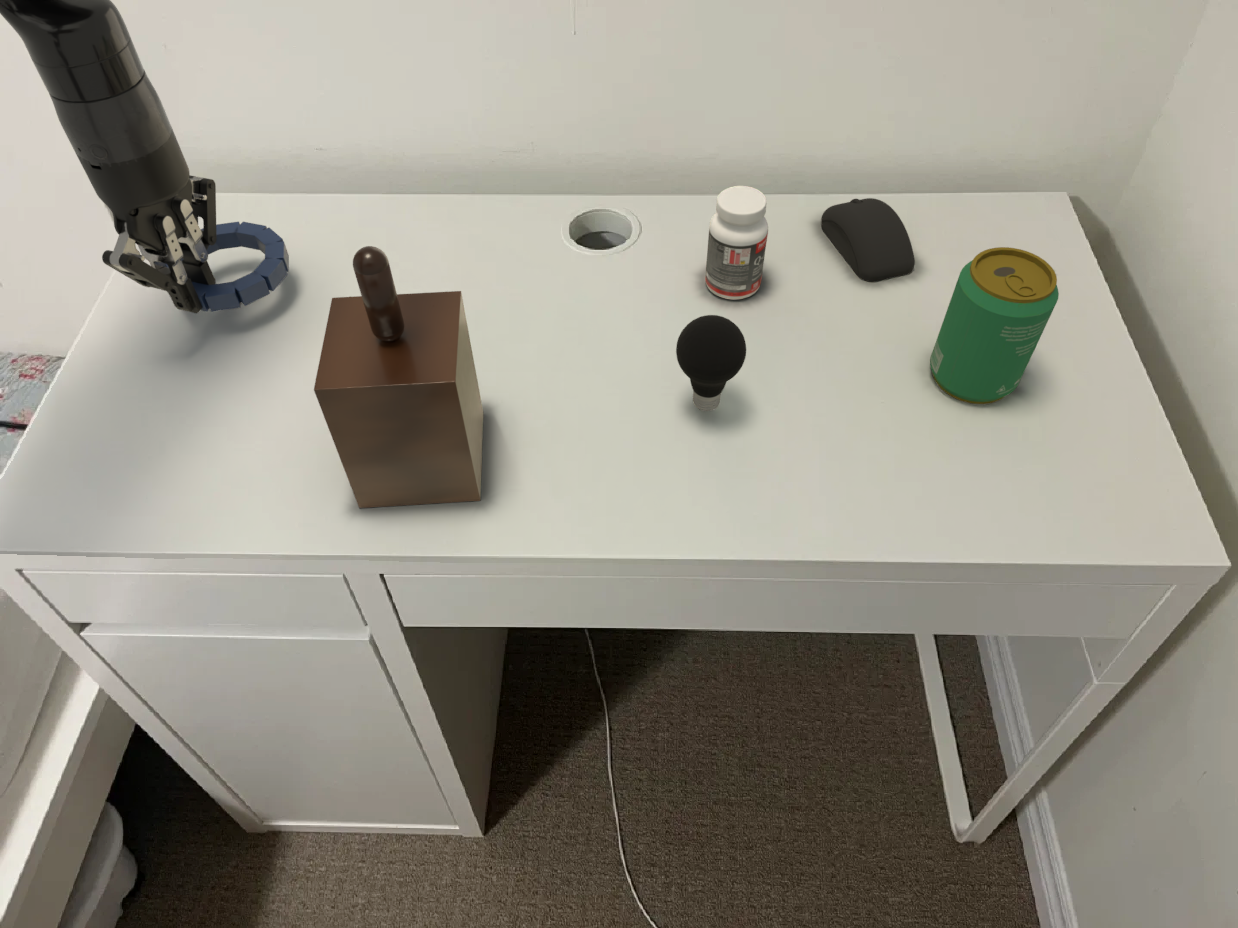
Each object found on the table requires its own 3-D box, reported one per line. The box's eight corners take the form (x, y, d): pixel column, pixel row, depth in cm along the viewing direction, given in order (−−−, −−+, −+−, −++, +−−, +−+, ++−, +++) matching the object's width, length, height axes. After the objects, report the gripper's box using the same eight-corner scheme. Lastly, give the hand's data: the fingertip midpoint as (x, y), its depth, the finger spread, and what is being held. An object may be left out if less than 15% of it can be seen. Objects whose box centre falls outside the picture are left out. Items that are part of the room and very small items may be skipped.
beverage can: (983, 338, 87) (1025, 234, 78) (1034, 394, 83) (1085, 291, 73) (910, 358, 86) (944, 254, 76) (958, 417, 81) (1001, 314, 72)
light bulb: (749, 421, 81) (762, 337, 73) (689, 439, 79) (695, 356, 72) (720, 377, 84) (730, 293, 77) (662, 394, 83) (666, 310, 75)
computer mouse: (867, 210, 101) (874, 178, 98) (918, 271, 94) (928, 239, 91) (815, 221, 99) (821, 189, 96) (863, 284, 93) (871, 252, 90)
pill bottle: (762, 302, 91) (774, 218, 83) (705, 301, 91) (712, 218, 83) (758, 265, 95) (769, 182, 87) (703, 265, 95) (710, 182, 87)
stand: (359, 508, 75) (279, 302, 58) (371, 418, 81) (303, 209, 64) (480, 500, 75) (437, 293, 58) (483, 412, 82) (445, 202, 65)
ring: (162, 319, 85) (154, 304, 84) (172, 245, 92) (165, 231, 91) (288, 300, 87) (283, 285, 85) (289, 229, 94) (284, 215, 93)
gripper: (134, 86, 78) (206, 252, 91) (23, 172, 70) (120, 341, 83) (210, 99, 77) (272, 265, 90) (106, 188, 68) (191, 357, 82)
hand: (199, 301), depth 86 cm, fingers closed on ring, 2 cm apart
